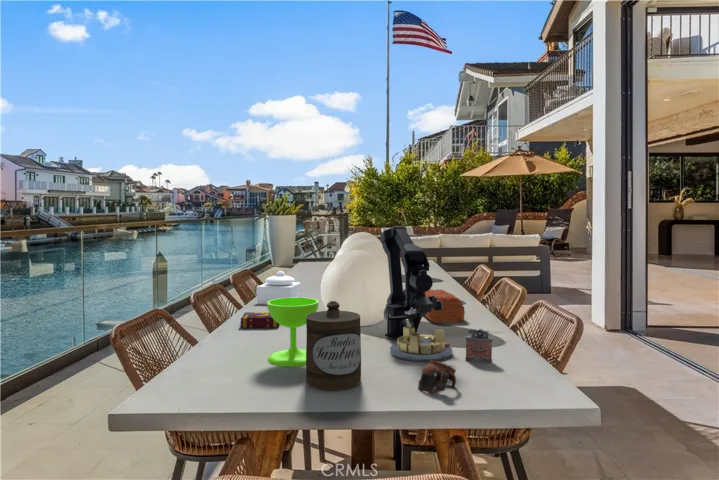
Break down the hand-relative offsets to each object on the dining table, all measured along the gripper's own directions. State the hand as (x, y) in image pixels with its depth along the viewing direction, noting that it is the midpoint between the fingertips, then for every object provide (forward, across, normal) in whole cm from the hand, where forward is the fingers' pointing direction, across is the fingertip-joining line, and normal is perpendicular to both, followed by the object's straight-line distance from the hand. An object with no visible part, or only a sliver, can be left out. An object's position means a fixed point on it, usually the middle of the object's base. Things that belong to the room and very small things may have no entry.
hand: (415, 332), depth 174 cm
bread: (+8, +36, +40) cm, 55 cm away
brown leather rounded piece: (+4, -15, -37) cm, 41 cm away
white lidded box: (+6, -18, +106) cm, 108 cm away
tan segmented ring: (+3, -1, -6) cm, 7 cm away
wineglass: (+4, -41, +5) cm, 42 cm away
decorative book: (+4, -40, +56) cm, 69 cm away
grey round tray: (+5, -2, -6) cm, 8 cm away
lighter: (+6, +10, -21) cm, 24 cm away
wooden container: (+4, -38, -20) cm, 43 cm away
